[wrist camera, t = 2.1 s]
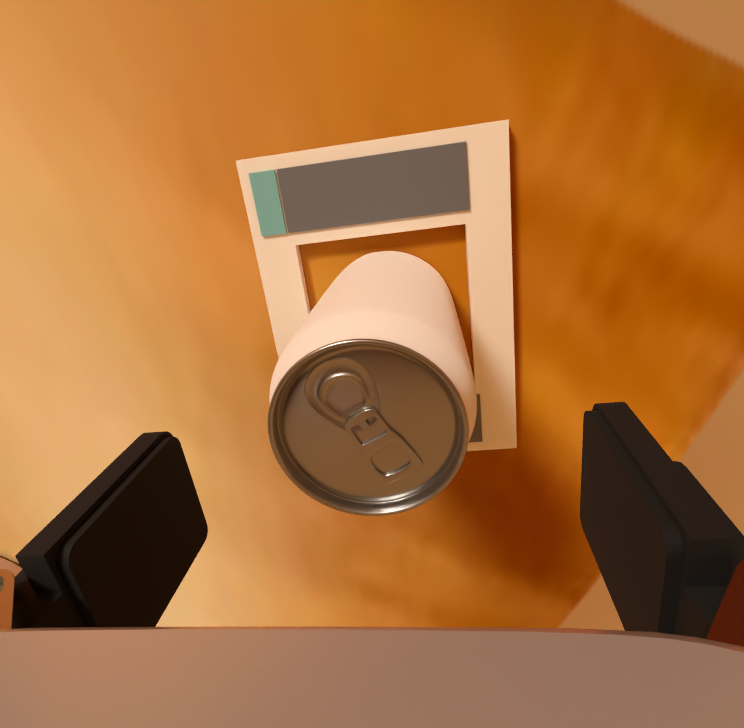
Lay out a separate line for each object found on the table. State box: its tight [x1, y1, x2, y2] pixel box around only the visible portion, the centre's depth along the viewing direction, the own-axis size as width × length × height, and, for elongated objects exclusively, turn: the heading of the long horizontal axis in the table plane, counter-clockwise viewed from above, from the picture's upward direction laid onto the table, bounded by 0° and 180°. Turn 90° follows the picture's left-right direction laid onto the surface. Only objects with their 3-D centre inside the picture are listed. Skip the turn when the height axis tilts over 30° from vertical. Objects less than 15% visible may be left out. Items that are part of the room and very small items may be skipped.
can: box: [268, 251, 477, 516], centre depth 19 cm, size 6×6×12 cm
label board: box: [236, 119, 517, 451], centre depth 24 cm, size 16×12×1 cm
